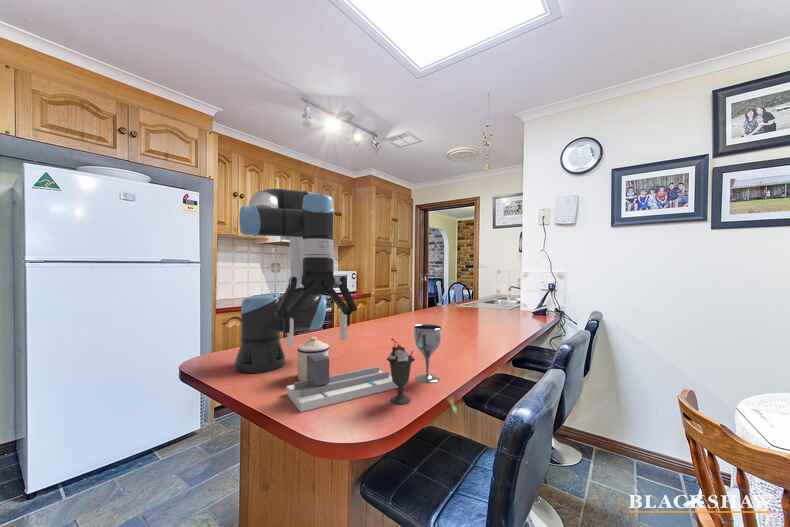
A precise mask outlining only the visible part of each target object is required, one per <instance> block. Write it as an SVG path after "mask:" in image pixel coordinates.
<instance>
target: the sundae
mask: <svg viewBox="0 0 790 527" xmlns="http://www.w3.org/2000/svg"><path fill="white" fill-rule="evenodd" d="M390 340H391V341H392V342H393V343H394V346H393V347H391V350H392V351H391V352H389V355H388V357H387V358H386V361H388V362H389V367H390V372H391V375H390V376H391V377H392V380H393V382H394V383H395V384H396V385H397V386H398V388H397V395H394V396H392V397H391V398H390V402H391V403H393V404H395V405H399V406H400V405H401V406H402V405H407V404H409V403H410V402H411V398H410V397H409V396H407V395H404V387H405V385H407V383H408V382H409V380H410V375H411V374H410V373H411V366H412V363H413V362H415V361H416V359H415V358H414V356H412V355H413V353H414V350H412V351H411V352H410V354H409V351H408V349H406V348H405V347H403V346H402V345H401V344H398V342H397V341H396V340H395V338H391V339H390Z"/></svg>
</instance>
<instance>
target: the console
mask: <svg viewBox="0 0 790 527" xmlns="http://www.w3.org/2000/svg"><path fill="white" fill-rule="evenodd" d="M394 389H398V386H397V385H396V384H395V383H394V382H393V380H392V375H390V373H389V371H388V370H385V371H381V370H380V366H378V365H377V366H372V367H367V368H362V369H357V370H352V371H346V372H341V373H337V374H333V375H332V374H331V375H329V383H328V384H324V385H319V386H315V387H310V388H309V387H308V380H305V381H301V380H299V381H296V382H293V384H290V385H286V395H287V396H288V398H289V399H290V400H291V401H292V403H293V404H294V405H295V407H296V408H297V409H298V410H299V411H300V413H302V412H307V411H310V410H311V411H312V410H314V409H317V408H322V407H326V406H330V405H334V404H338V403H342V402H346V401H350V400H354V399H358V398H362V397H366V396H371V395H374V394H378V393H381V392H385V391H390V390H394Z"/></svg>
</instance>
